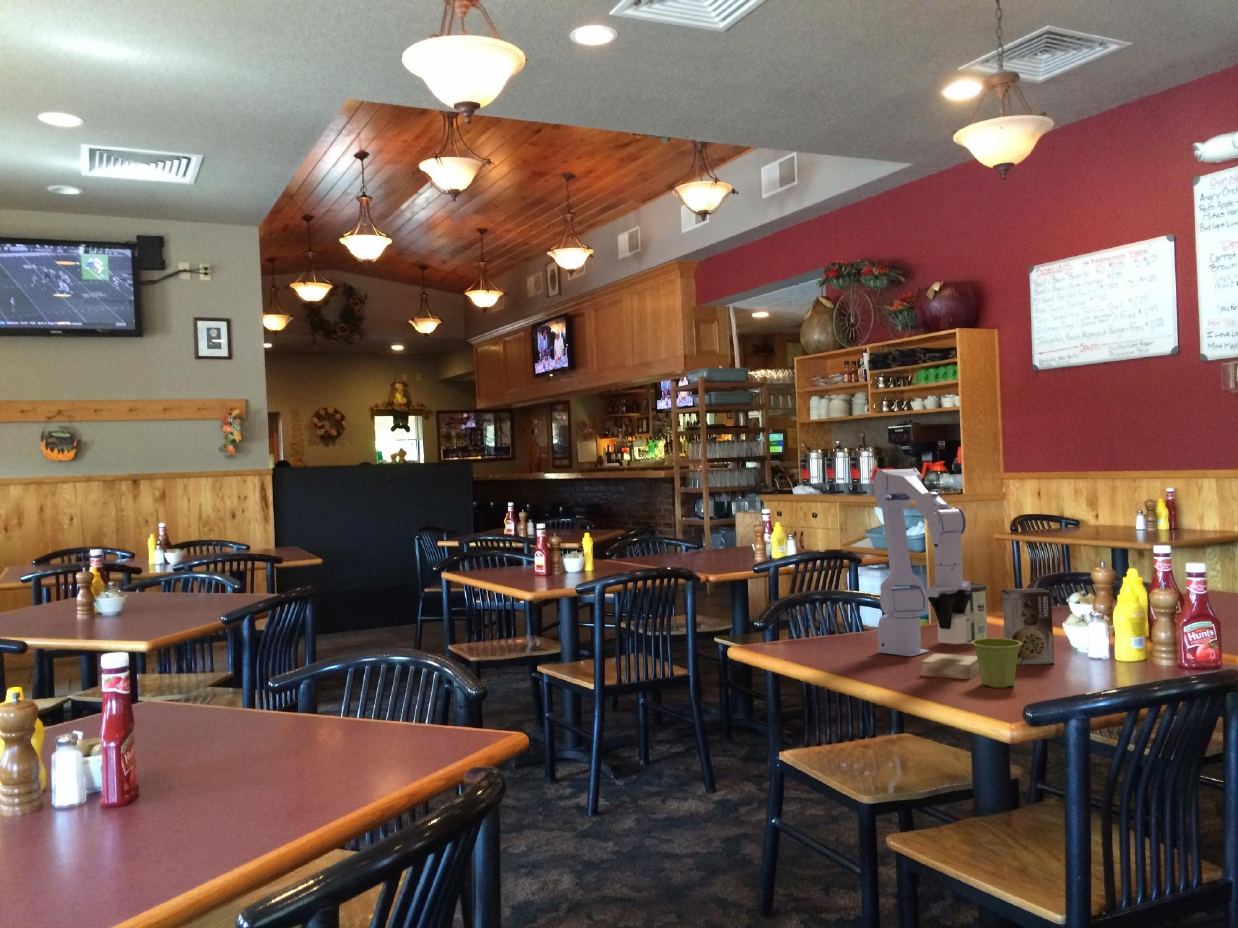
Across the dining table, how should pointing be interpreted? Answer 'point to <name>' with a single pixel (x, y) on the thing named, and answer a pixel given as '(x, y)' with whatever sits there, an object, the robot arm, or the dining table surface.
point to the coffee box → (1029, 624)
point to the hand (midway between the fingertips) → (951, 627)
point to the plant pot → (997, 661)
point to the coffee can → (976, 613)
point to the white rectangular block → (954, 630)
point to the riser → (950, 666)
